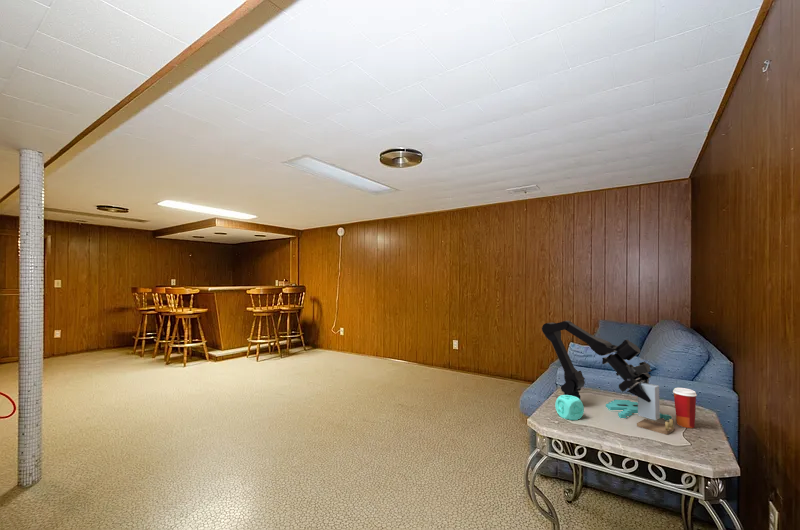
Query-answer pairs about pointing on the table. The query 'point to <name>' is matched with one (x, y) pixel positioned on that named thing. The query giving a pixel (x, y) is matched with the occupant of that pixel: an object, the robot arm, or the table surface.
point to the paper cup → (685, 407)
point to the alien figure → (628, 408)
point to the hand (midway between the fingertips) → (652, 400)
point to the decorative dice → (569, 407)
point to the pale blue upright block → (652, 407)
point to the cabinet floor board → (657, 426)
